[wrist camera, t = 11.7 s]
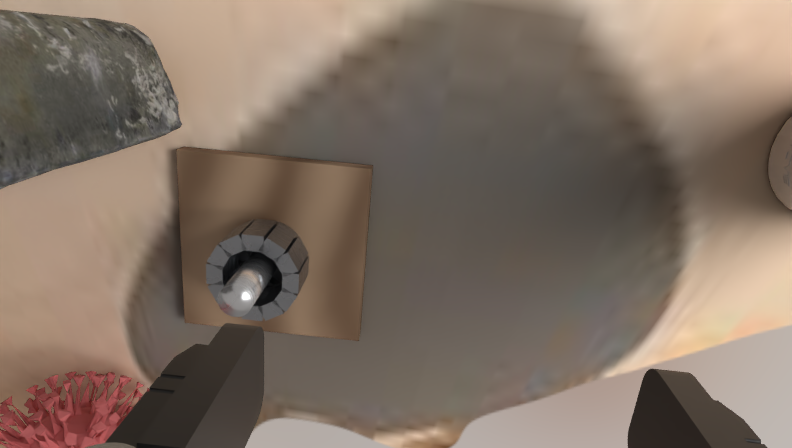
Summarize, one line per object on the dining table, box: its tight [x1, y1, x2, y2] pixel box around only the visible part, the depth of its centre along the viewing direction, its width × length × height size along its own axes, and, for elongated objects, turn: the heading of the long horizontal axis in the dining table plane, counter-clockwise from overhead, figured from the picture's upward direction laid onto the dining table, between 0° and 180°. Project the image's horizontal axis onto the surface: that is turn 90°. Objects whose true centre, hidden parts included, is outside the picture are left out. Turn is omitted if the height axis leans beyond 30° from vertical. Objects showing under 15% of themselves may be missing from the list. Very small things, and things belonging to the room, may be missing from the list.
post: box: [217, 221, 298, 317], centre depth 35 cm, size 5×5×8 cm
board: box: [176, 147, 373, 341], centre depth 40 cm, size 14×14×1 cm
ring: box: [206, 219, 309, 321], centre depth 36 cm, size 6×6×3 cm
